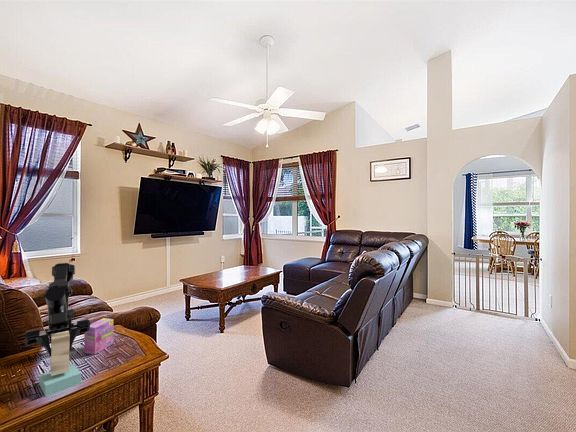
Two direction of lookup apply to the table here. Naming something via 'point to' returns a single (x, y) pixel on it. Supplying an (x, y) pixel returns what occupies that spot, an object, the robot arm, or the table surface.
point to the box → (99, 336)
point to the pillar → (60, 352)
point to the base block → (59, 380)
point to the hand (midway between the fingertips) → (60, 353)
